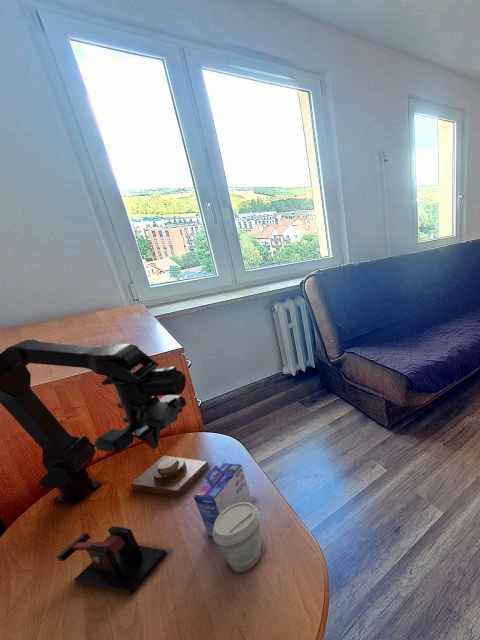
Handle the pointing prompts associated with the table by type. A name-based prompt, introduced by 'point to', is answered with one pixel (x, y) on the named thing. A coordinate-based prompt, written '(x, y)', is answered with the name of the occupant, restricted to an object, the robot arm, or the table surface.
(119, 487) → the table surface
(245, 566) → the coffee cup
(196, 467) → the bell block
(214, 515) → the ink cartridge box
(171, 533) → the table surface
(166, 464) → the bell button
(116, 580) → the lever stand
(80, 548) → the red lever handle
